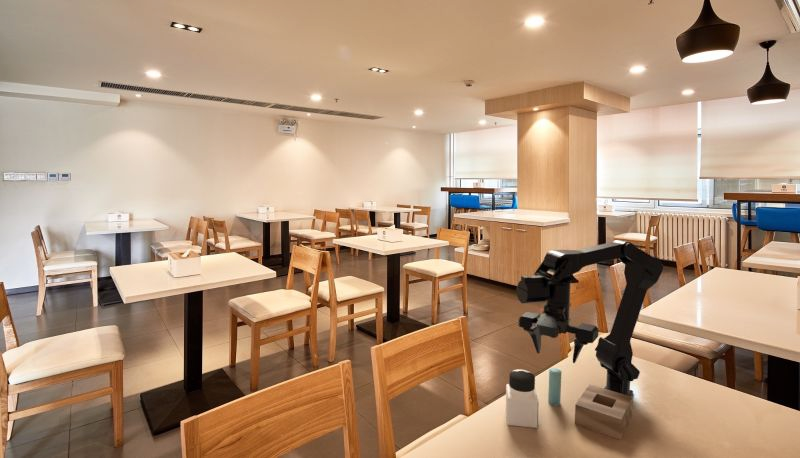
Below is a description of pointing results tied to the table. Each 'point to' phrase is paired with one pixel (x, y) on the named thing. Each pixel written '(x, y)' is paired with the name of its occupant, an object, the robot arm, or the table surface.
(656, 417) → the table surface
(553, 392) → the peg
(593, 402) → the socket block
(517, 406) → the medicine bottle
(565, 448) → the table surface
